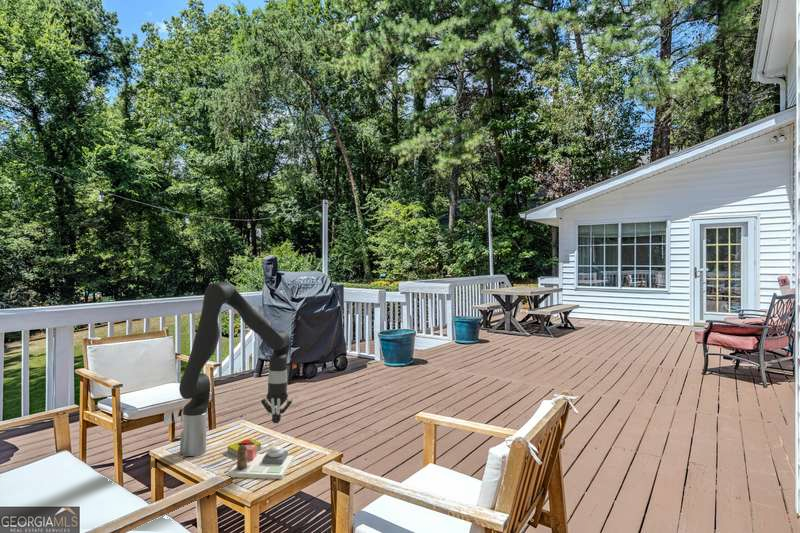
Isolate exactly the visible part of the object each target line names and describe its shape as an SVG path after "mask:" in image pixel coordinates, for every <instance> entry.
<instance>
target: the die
mask: <svg viewBox="0 0 800 533" xmlns="http://www.w3.org/2000/svg"><path fill="white" fill-rule="evenodd" d="M245 446H246V447H247V461H253V460H254V458H255V457H256V455H257V454H258V453H257V452H258V451H257V445H245Z"/></svg>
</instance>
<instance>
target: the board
mask: <svg viewBox="0 0 800 533" xmlns="http://www.w3.org/2000/svg"><path fill="white" fill-rule="evenodd" d="M293 459H294V460H295V455H289V451H288V450H284V454H283V455H282V456H280V457H275V458H272V457H269V456H268V455H267V453H264V454H263V453H262V454H259V453H257V455H256V457H255V458H254V460H253V461H247V468H246V469H244V470H238V469H237V462H235V464H234V465H233V466H232V467H231V468H230V469H229V471H227V475H228V476H231V477H230V478H249V479H250V478H251V479H273V480H274V479H277V480H283V478H284V476H285V475H286V473H287V471H288V470H289V468H290V467H291V465H292V464H293V462H292V461H294V460H293ZM290 464H291V465H290ZM289 466H290V467H289Z"/></svg>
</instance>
